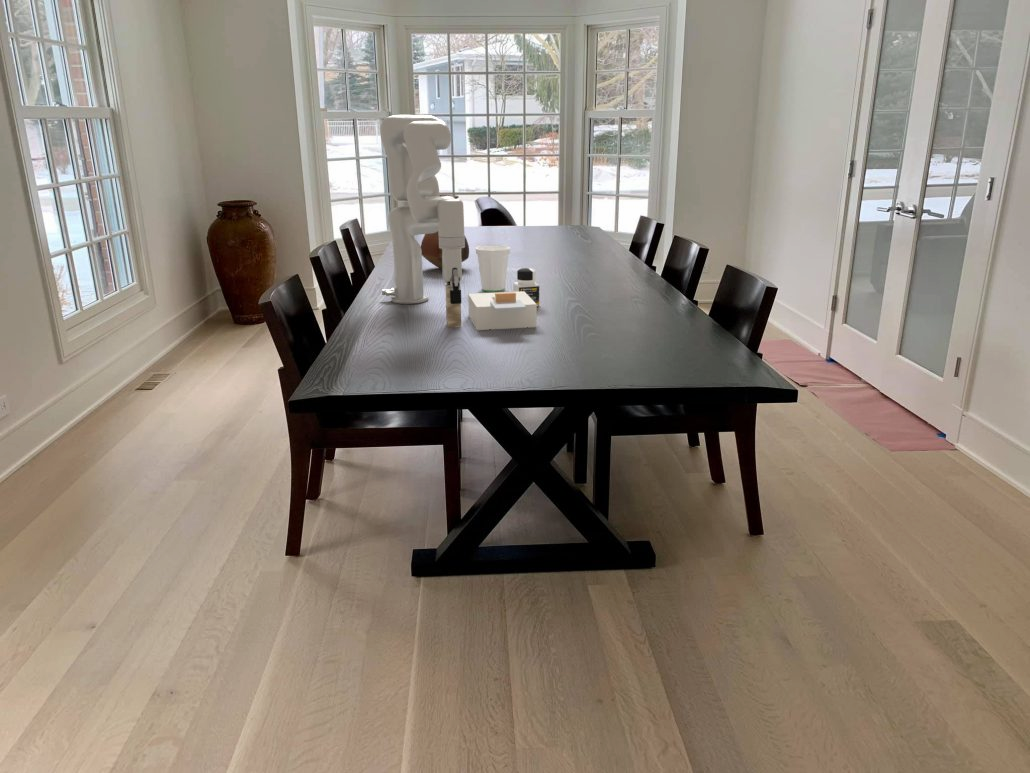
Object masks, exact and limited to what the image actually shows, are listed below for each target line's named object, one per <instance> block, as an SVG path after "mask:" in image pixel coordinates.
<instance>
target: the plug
mask: <svg viewBox="0 0 1030 773" xmlns="http://www.w3.org/2000/svg"><path fill="white" fill-rule="evenodd" d="M450 290H451V286H450V285H445V314H446V326H447V328H459V327H460V328H462V303H461V304H451V303H450Z"/></svg>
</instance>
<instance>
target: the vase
mask: <svg viewBox="0 0 1030 773" xmlns="http://www.w3.org/2000/svg"><path fill="white" fill-rule="evenodd" d="M439 196H440V197H441V196H451V197H454V198H455V199H459V198H460V197H459V195H455V194H439ZM423 235H424V236H423V237H422V240H421V243H420V246H421V250H422V258H423V259H425V260H426V261H428V262H429V263H431V264H432V265H433V266H435V267H437V268H438V269H439V270H442V249H441V248H439V235H438V232H436V233H432V234H423ZM464 237H465V247H464V248H461V259H462V263H463V262H465V261H467V259H469V256H470V246H469V242H468V239H467V237H466V235H465V234H464Z"/></svg>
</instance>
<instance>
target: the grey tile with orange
mask: <svg viewBox="0 0 1030 773" xmlns="http://www.w3.org/2000/svg"><path fill="white" fill-rule="evenodd" d="M505 292H506V293H497V292H494V293H495V301H490V304H491V306H492V307H493V308H494V310H495V311H505V310H526V306H525V305H524V304H523V303H522V302H521V301H520V300H516V293H515V292H513V291H505Z"/></svg>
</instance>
